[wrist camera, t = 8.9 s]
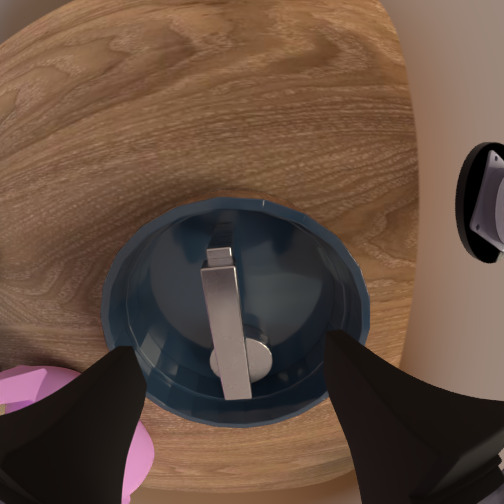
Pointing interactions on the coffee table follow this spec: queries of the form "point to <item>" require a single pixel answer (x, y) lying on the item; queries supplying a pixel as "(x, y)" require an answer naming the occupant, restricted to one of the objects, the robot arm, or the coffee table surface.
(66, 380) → the teapot
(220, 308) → the disc with bar handle
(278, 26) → the coffee table surface
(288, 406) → the bowl
